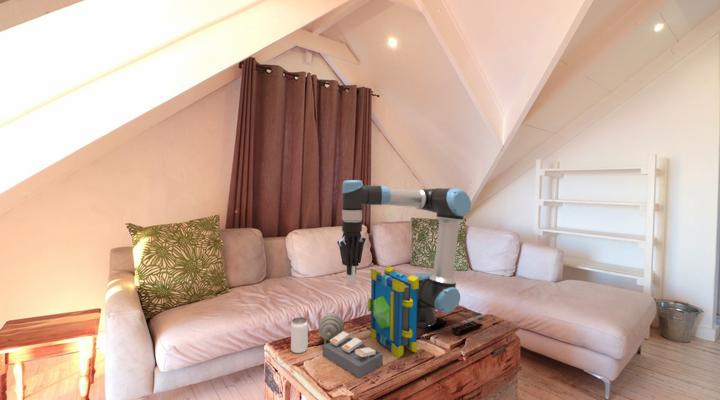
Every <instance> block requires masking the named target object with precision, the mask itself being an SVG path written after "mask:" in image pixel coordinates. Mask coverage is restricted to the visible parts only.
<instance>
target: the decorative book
mask: <svg viewBox="0 0 720 400" xmlns="http://www.w3.org/2000/svg"><path fill="white" fill-rule="evenodd" d="M370 279H371V288H370V289H371V290H370V291H371V292H370V294H371V295H370V296H371V297H369V298H368V300H367V301H368V302H367V311H368V312H370V338H371V340H373V339H374V340H375V341H374V340H373V341H374V342H377V341H379V342H380V343H381V344H382V345H383V346H384V347H386V348H387V349H389V350H390V351H391V352H390V354H391V355H392V356H393V357H394V358H396V359H397V360H399V359H400V358H402V356H403V355H404V347H405V348H406V349H408V350H409V351H411V352H412V353H418V342H417V340H418V339H417V336H418V334H417V333H418V332H417V330H418V327H417V292H418V289H419V278H418V277H416V276H413V275H412V274H411V275H410V276H407V274H405V273H402V272H398V271H396V268H395V267H392V266H390V265H389V266H387V267H385V268H384V269H383V275H382V272H380V271H378V270H376V269H373V268H370Z"/></svg>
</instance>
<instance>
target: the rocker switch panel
mask: <svg viewBox="0 0 720 400" xmlns="http://www.w3.org/2000/svg"><path fill="white" fill-rule="evenodd" d="M352 339H353V338H352V337H349V338H347V339H346V340H345V341H343V342H342V343H340V344H339V345H338V346H335V345H333V344H331V343H330V342H327V344H325V345H324V344H323V345H322V356H323V357H324V358H326V359H327V358H328V359H327V360H329V361H331V362H332V361H333V364H335V363H336V365H337V366H339V367H341V368H342V369H344V370H345V371H346V372H349V373H350V374H351V375H353V376H355V377H357V378H358V379H360V378H362V377H364V376H365V375H367V374H369V373H371V372H372V371H375V370H376V369H378V368H380V367H382V366H383V365H384V364H383V363H384V361H383V359H384V358H383V357H384V354H383V353H381V352H379V351H378V350H376V349H373V348H371V347H370V346H367V345H366V344H364V343H362V344H361V345H360V346H358V347H357V348H356V349H354V350H352V351H351V352H350V353H348V352H346V351H344V350H342V346H343V345H345V344H346V343H348V342H349V341H351V340H352ZM367 347H369V348H371V349H373V350H375V351H376V353H375V354H374V355H369V356H365V357H361V356H359V355H357V354H355V350H357V349H362V348H367Z"/></svg>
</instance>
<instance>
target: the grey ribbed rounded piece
mask: <svg viewBox="0 0 720 400" xmlns="http://www.w3.org/2000/svg"><path fill="white" fill-rule="evenodd" d="M344 329H345V324H344V321H343V319H342V317H341V316H340V315H338V314H337V313H335V312H330V313H327V314H326V315H324V316H323V317H322V318H321V320H320V321H319V323H318V332H319V336H321V338H322V339H323V345H325V344H327V343H328V342H330V340H331V339H332V338H334V337H335V336H337V335H338V334H340V333H341V332H343V331H344Z"/></svg>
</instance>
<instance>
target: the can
mask: <svg viewBox="0 0 720 400" xmlns="http://www.w3.org/2000/svg"><path fill="white" fill-rule="evenodd" d="M291 321H292V322H291V323H290V350H291V352H292V353H294V354H303V353H306V352H307V351H308V344H309V343H308V342H309V340H308V334H309V333H308V330H309V329H308V321H307V318H306V317H303V316H300V317H299V316H297V317H294V318H293V319H292V320H291Z"/></svg>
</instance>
